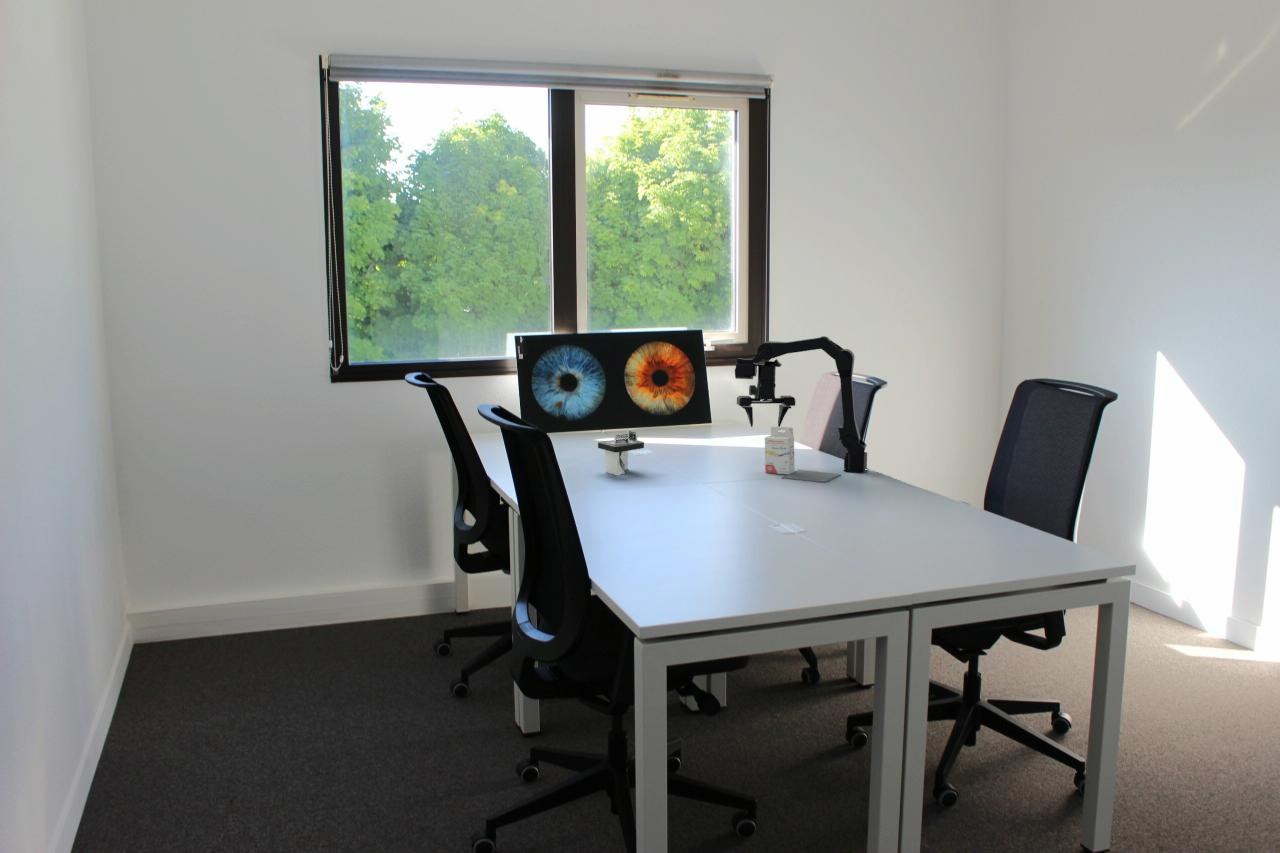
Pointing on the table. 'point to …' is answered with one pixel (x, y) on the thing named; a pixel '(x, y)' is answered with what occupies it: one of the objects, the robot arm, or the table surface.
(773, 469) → the ink cartridge box
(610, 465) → the black-topped pedestal
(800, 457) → the table surface
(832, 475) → the mat
